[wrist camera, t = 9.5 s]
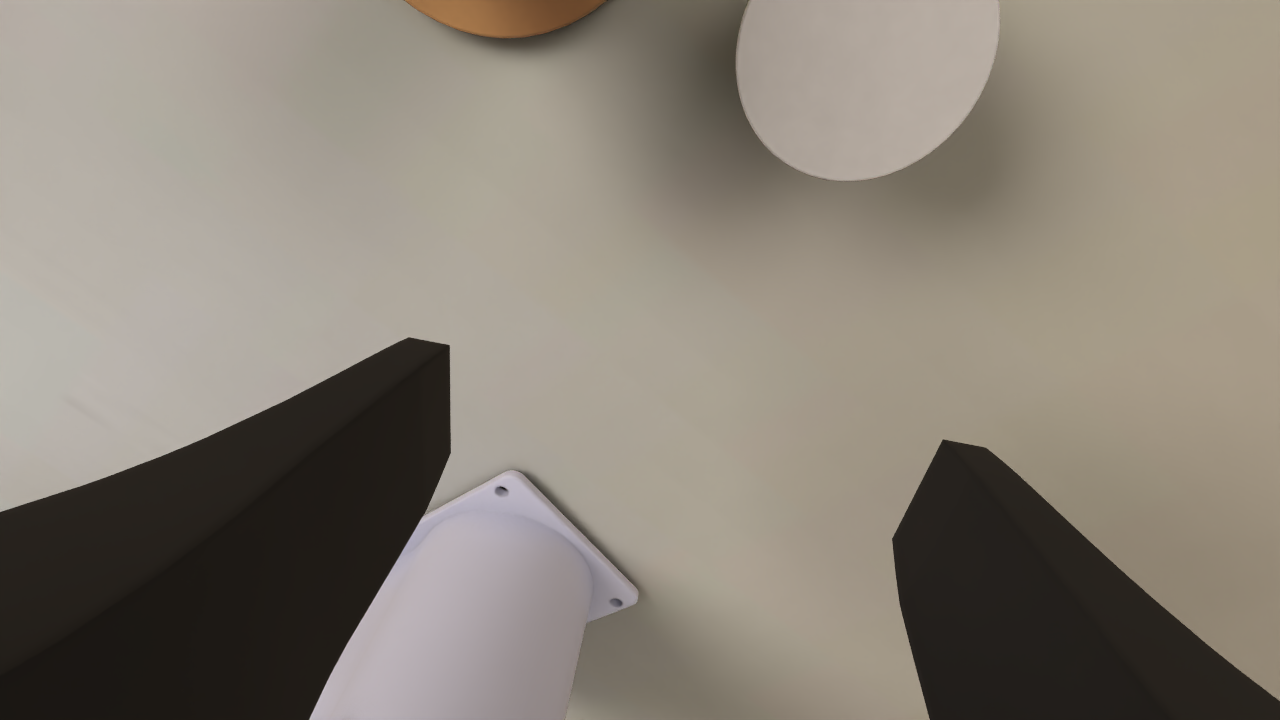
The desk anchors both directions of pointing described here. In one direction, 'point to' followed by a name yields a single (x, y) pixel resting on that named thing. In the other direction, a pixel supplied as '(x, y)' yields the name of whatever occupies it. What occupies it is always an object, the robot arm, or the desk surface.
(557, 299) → the desk surface
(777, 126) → the cylinder
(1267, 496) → the desk surface
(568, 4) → the coaster
